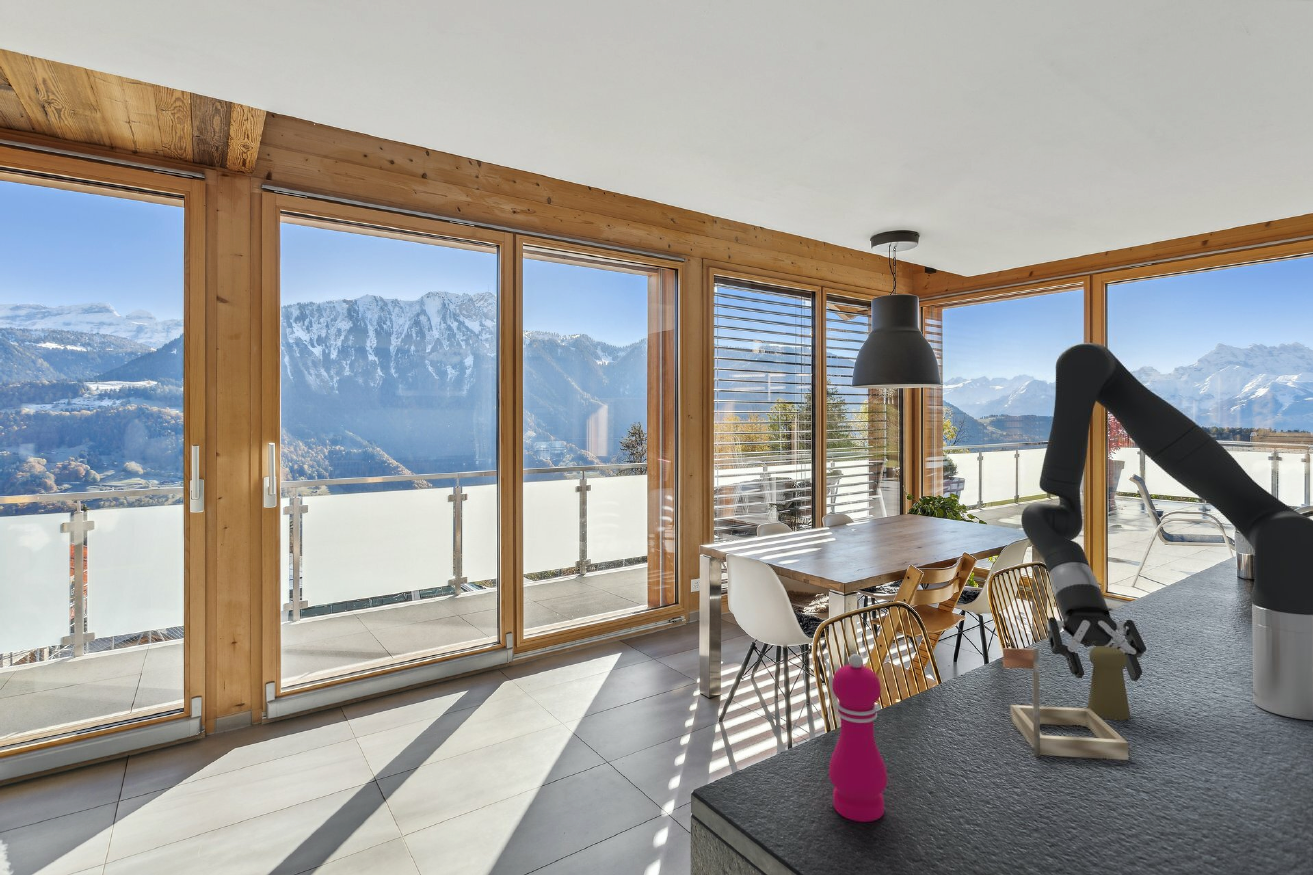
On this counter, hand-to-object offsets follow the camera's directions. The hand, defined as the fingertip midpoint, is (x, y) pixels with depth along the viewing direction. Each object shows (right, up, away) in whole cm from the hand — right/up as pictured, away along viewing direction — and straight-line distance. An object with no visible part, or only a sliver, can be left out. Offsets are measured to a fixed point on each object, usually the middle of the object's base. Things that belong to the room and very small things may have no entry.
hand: (1108, 677), depth 112 cm
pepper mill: (-50, -8, -26) cm, 57 cm away
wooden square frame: (-15, -6, -9) cm, 18 cm away
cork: (0, -6, 0) cm, 6 cm away
